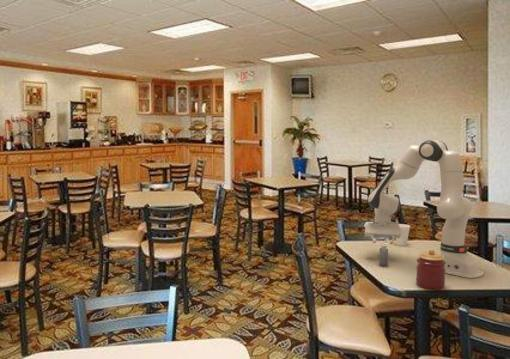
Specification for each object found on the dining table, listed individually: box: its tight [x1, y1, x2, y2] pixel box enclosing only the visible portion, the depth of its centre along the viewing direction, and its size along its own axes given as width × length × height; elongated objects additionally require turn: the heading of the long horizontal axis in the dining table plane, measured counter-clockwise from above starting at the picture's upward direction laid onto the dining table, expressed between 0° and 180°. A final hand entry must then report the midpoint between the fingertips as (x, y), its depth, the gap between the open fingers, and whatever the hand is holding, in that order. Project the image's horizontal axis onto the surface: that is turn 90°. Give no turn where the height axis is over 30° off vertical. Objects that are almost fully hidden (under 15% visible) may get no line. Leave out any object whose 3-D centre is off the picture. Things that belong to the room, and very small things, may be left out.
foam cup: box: [395, 223, 411, 247], centre depth 285 cm, size 10×9×13 cm
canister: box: [415, 248, 446, 290], centre depth 208 cm, size 13×13×18 cm
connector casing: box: [378, 244, 389, 268], centre depth 241 cm, size 7×4×11 cm, turn 168°
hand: (383, 242), depth 247 cm, fingers open, 8 cm apart
